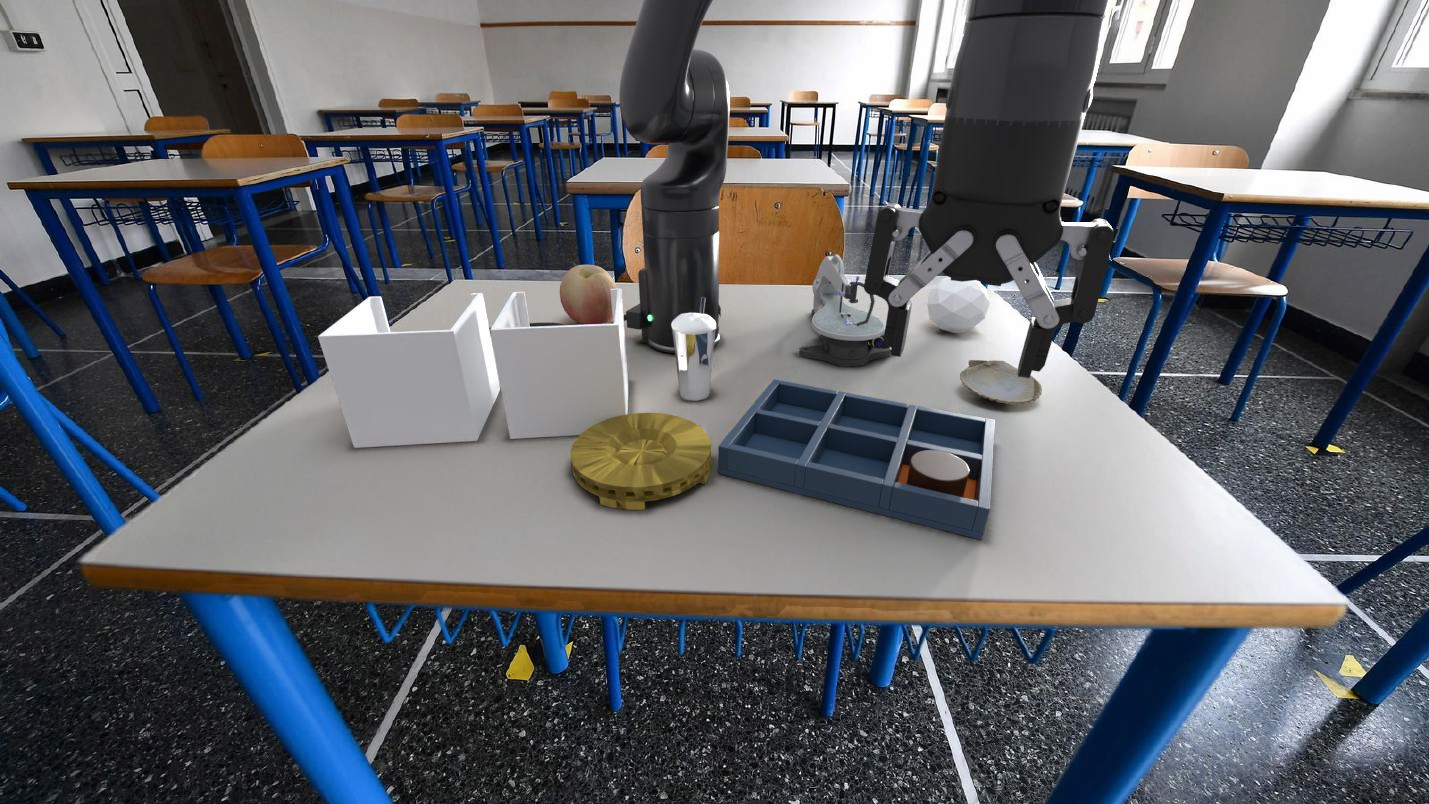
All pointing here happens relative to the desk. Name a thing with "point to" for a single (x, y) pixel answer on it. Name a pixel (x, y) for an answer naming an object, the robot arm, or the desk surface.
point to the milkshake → (694, 353)
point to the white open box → (474, 375)
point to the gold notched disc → (641, 458)
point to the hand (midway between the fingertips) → (957, 362)
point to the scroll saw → (843, 320)
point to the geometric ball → (957, 304)
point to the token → (938, 472)
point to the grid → (861, 453)
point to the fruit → (587, 294)
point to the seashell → (1000, 382)
